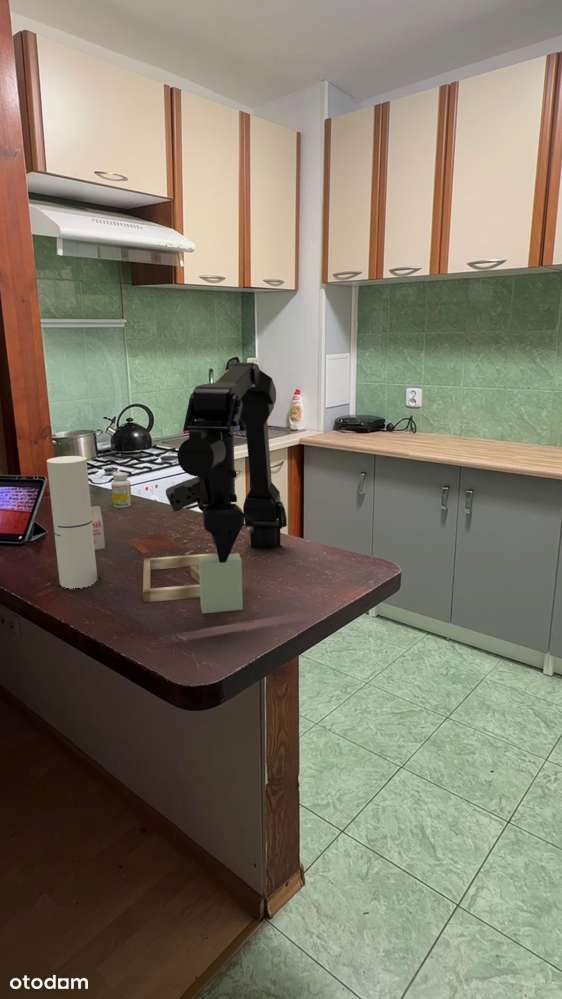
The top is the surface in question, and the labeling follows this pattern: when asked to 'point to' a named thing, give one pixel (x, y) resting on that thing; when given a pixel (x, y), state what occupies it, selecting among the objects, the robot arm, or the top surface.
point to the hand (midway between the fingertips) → (219, 553)
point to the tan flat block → (195, 573)
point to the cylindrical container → (72, 521)
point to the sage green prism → (220, 583)
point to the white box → (97, 528)
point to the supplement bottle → (121, 490)
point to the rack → (169, 592)
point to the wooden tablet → (154, 543)
